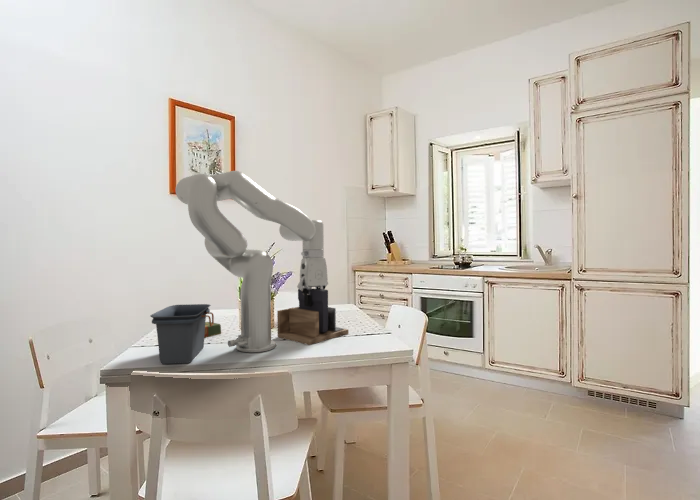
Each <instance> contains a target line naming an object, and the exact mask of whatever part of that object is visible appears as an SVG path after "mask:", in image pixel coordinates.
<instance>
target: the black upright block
mask: <svg viewBox="0 0 700 500" xmlns="http://www.w3.org/2000/svg"><path fill="white" fill-rule="evenodd" d="M297 289H298V288H297ZM307 291H308V288H307ZM310 295H312V306H311V307H308V306H305V305H304V295H303V293H302V292H301V290H300V289H298V290H297V300H298V307H299V309H305V310H311V311H317V312H319V333H324V332H327V331H328V307H329V289H326V288H325V289H316V288H314V287H312V288H311V294H310Z"/></svg>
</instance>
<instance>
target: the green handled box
mask: <svg viewBox="0 0 700 500" xmlns="http://www.w3.org/2000/svg"><path fill="white" fill-rule="evenodd" d="M211 325H212V321H211ZM221 334H222V325H221V323H216V322H214V324H213V326H210V323H209V321H205V334H204V339H205V338H209V337H214V336H218V335H221Z"/></svg>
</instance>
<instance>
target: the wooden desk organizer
mask: <svg viewBox="0 0 700 500" xmlns="http://www.w3.org/2000/svg"><path fill="white" fill-rule="evenodd" d="M276 311H277V312H276V313H277V338H280V339H284V340H287V341H291V342H296V343H300V344H305V345H309V346H311V345H314V344H318V343H320V342H324V341H327V340H331V339H334V338H338V337H341V336H344V335H348V334H349V329H348V328H342V327H339V326H337V325H336V324H337V323H336V322H337V320H336V312H337V311H336V307H332V306H331V307H329V306H328V331H327V332H324V333H319V312H317V311H311V310H305V309H299V306H296V307H288V308H286V309H280V310H276Z"/></svg>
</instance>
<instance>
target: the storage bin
mask: <svg viewBox="0 0 700 500" xmlns="http://www.w3.org/2000/svg"><path fill="white" fill-rule="evenodd" d="M211 306H212V305H211V304H207V303H206V304H205V303H204V304H202V303H201V304H200V303H199V304H196V303H195V304H194V303H193V304H192V303H191V304H173V305H169V306H166V307H165V308H162V309H160V310H158V311H156V312H154V313H152V314H150V316H149V317H151V318H152V319H151V324H153V325H155V326H156V334H157V335H156V336H157V344H158V353H159V354H158V355H159V363H161V364H163V365H164V364H165V365H168V364H170V365H171V364H172V365H173V364H188V363H191V362H192V361H194V359H195V358H196V357H197V355H198V354H199V353H200V352H201V351H202V350H203V349H204V346H205V338H204V334H205V322H207V321H206V320H207V318H208V320H209V321H208V322H209V323H210V326H213V324H214V323H215V321H214V319H215V317H214V313H213V312H210V311H211V310H210V307H211ZM210 315H211V316H210ZM211 322H212V325H211Z"/></svg>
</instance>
